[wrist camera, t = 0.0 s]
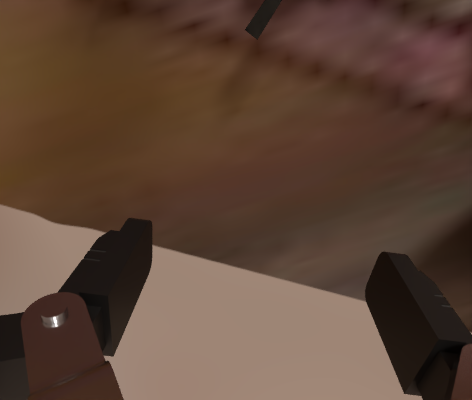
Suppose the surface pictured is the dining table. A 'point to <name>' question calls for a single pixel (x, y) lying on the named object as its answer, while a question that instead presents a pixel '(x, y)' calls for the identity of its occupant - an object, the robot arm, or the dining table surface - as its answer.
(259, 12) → the helicopter
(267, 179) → the dining table surface
